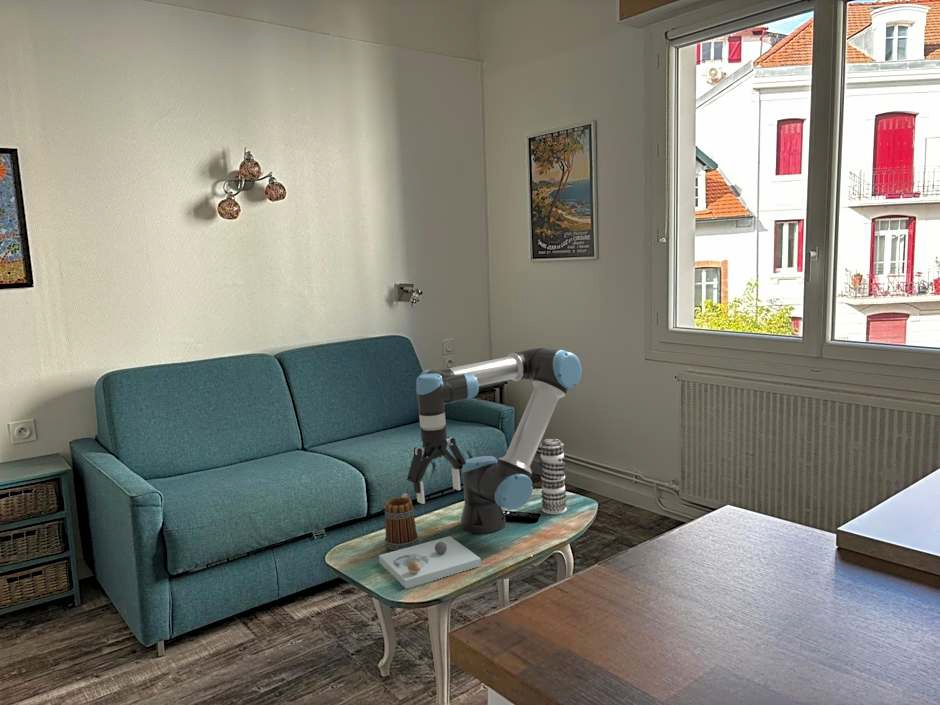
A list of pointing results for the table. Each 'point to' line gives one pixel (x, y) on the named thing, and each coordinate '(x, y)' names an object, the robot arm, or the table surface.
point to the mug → (400, 524)
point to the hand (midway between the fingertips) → (439, 495)
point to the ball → (440, 547)
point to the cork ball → (414, 566)
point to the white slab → (429, 562)
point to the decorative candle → (553, 476)
